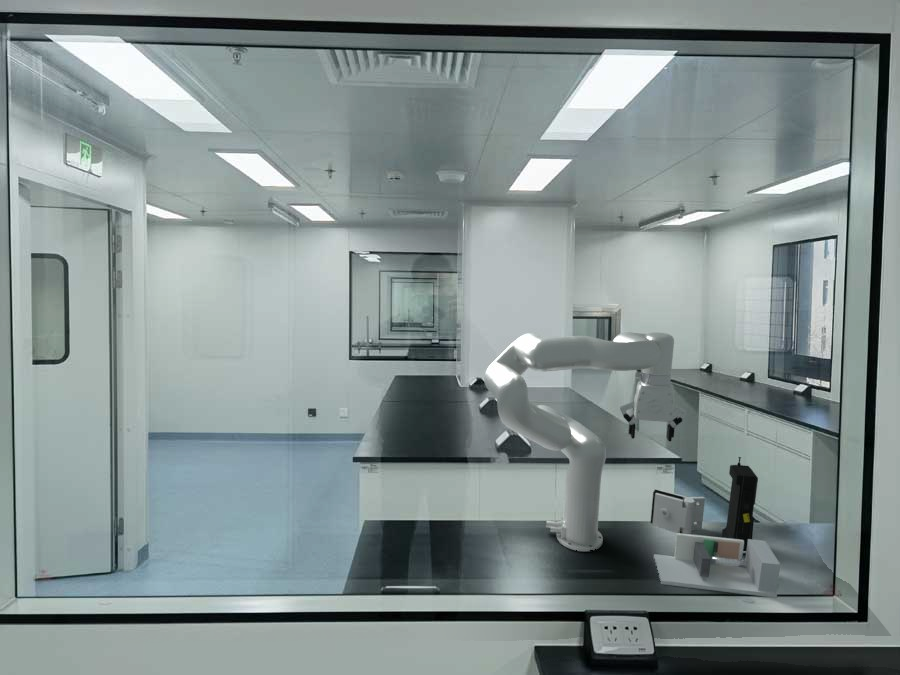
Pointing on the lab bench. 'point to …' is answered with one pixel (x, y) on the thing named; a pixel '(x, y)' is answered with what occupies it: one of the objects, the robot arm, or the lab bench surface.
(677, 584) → the stand
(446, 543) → the lab bench surface
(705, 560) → the plunger
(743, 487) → the portable radio
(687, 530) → the hinge
